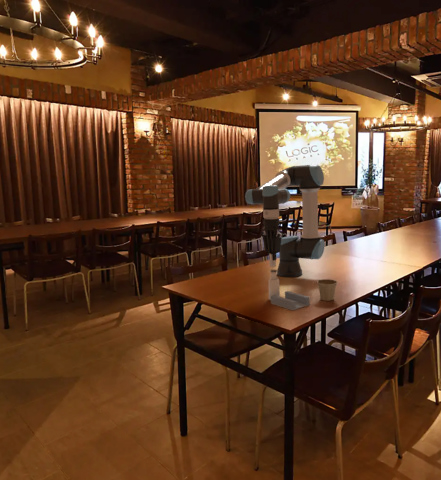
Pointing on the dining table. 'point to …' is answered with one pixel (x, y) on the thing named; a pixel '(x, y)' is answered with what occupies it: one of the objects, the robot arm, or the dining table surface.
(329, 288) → the flower pot
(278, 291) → the bottle
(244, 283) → the dining table surface
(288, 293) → the cradle
